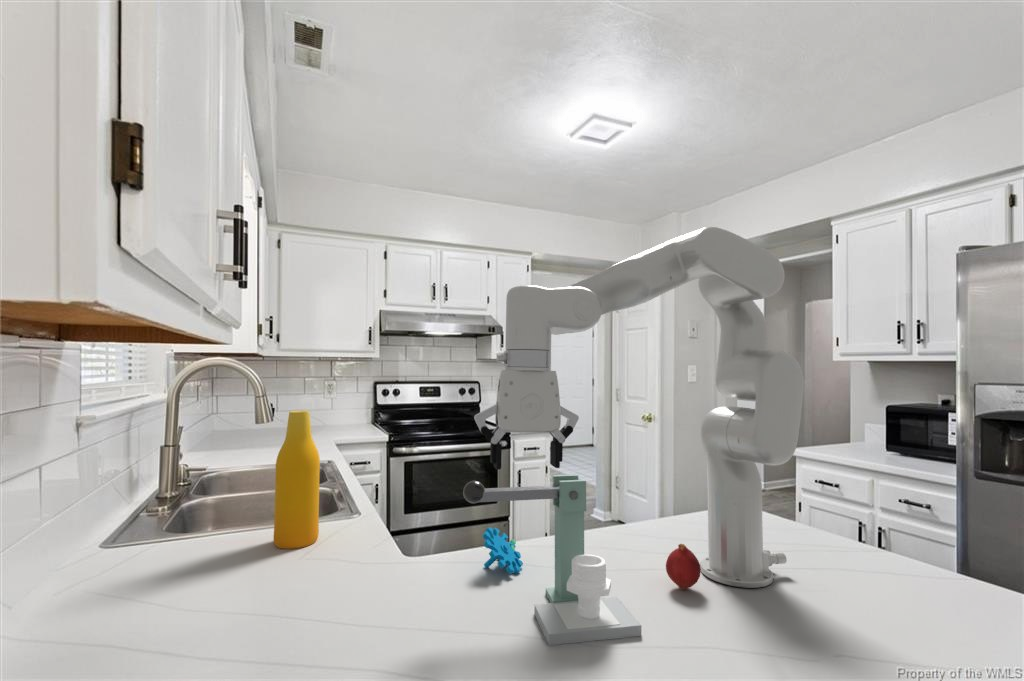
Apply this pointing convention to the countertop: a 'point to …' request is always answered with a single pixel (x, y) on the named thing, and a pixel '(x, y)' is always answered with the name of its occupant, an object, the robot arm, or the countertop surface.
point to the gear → (502, 551)
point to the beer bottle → (297, 486)
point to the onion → (683, 567)
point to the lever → (508, 493)
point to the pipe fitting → (589, 583)
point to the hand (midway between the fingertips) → (526, 467)
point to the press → (563, 610)
